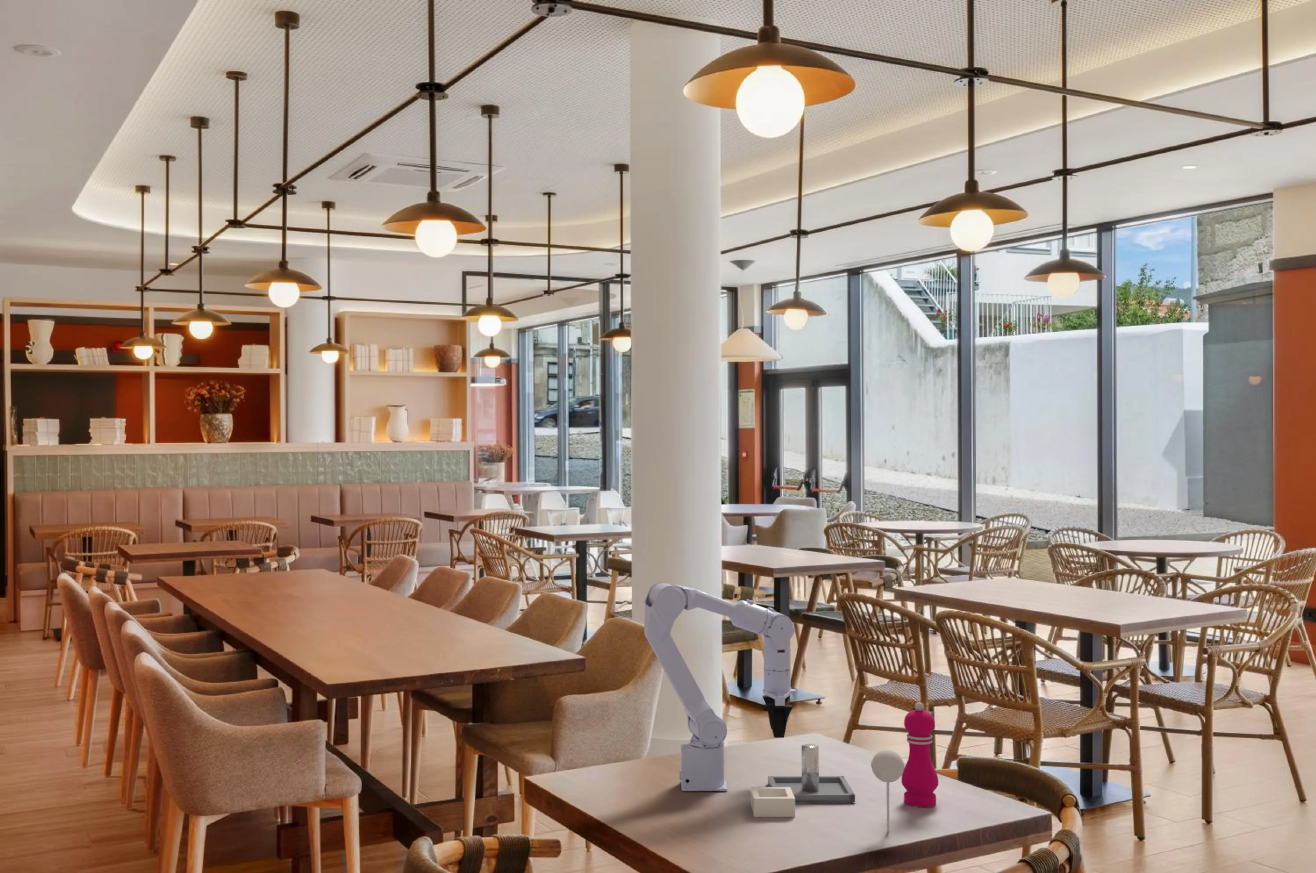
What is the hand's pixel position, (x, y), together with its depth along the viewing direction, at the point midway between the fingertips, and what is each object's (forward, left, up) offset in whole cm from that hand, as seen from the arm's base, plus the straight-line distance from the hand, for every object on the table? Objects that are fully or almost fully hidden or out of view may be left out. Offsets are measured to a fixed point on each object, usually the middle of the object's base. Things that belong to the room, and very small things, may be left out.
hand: (777, 733), depth 243 cm
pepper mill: (+27, -15, -11) cm, 33 cm away
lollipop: (+17, -33, -10) cm, 39 cm away
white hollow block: (-3, -20, -10) cm, 23 cm away
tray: (+6, -8, -10) cm, 15 cm away
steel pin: (+6, -8, -10) cm, 14 cm away
